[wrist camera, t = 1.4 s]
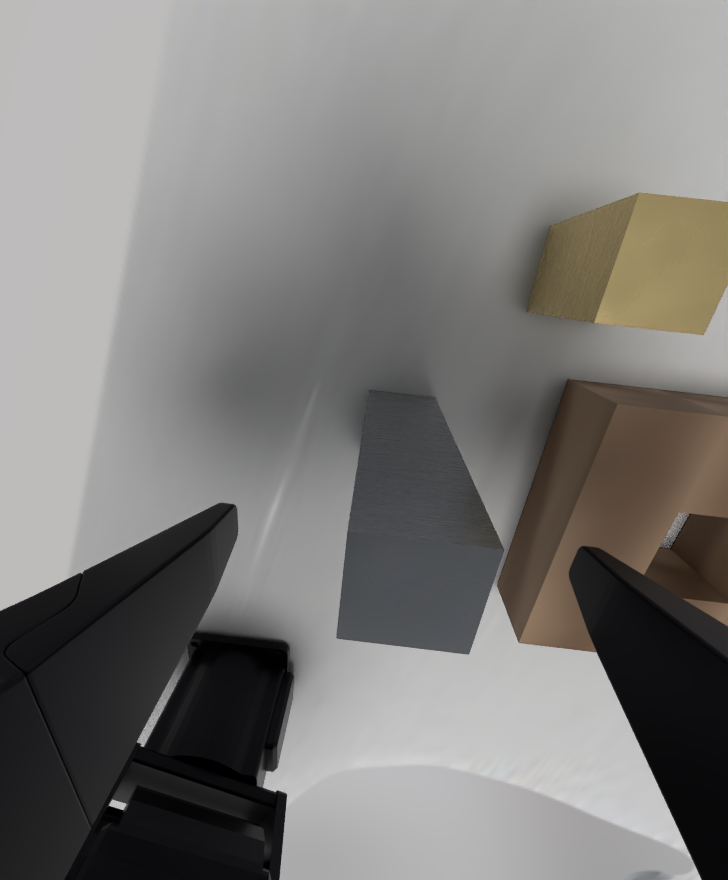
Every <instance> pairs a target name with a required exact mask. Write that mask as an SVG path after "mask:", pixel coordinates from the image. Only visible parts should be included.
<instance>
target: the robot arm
mask: <svg viewBox="0 0 728 880" xmlns="http://www.w3.org/2000/svg"><path fill="white" fill-rule="evenodd" d="M237 535H238V516H237V507H236V505H234V504H228V503H218V504H216V505H214V506H212V507H210V508H208V509H206V510H204V511H202V512H200V513H198V514H196V515H194V516H192V517H190V518H188V519H186V520H184V521H182V522H180V523H178V524H176V525H174V526H172V527H170V528H169V529H167V530H165V531H163V532H161V533H159V534H157V535H155V536H153V537H151V538H149V539H147V540H145V541H143V542H141V543H139V544H137V545H135V546H133V547H131V548H129V549H127V550H125V551H123V552H121V553H119V554H117V555H115V556H113V557H111V558H109V559H107V560H105V561H103V562H101V563H99V564H97V565H95V566H93V567H91V568H89V569H87V570H85V571H84V572H83V574H82V573H79V574H77V575H75V576H73V577H71V578H69V579H67V580H65V581H63V582H61V583H59V584H57V585H55V586H53V587H51V588H49V589H46V590H44V591H42V592H40V593H38V594H36V595H34V596H32V597H30V598H28V599H26V600H24V601H21V602H19V603H17V604H15V605H12V606H10V607H8V608H6V609H3V610H2V611H0V880H279V877H280V866H281V855H282V844H283V833H284V822H285V811H286V800H287V793H284V792H281V791H276V792H273V791H271V790H268V789H265V788H263V783H264V779H265V775H266V771H271V772H273V771H274V770H275V769H276V768H277V767H278V763H279V758H280V754H281V749H282V745H283V740H284V736H285V731H286V727H287V722H288V718H289V713H290V709H291V705H292V700H293V684H294V675H293V674H292V672H289V647H288V646H287V645H285V644H282V643H273V642H265V641H257V640H249V639H240V638H232V637H224V636H216V635H207V634H199V633H194V632H195V630H196V628H197V627H198V625H199V623H200V621H201V619H202V617H203V615H204V613H205V611H206V610H207V608H208V606H209V604H210V602H211V600H212V598H213V596H214V594H215V592H216V590H217V587H218V585H219V582H220V580H221V577H222V575H223V572H224V570H225V567H226V565H227V562H228V560H229V557H230V554H231V552H232V549H233V547H234V544H235V542H236V539H237ZM569 580H570V583H571V586H572V588H573V591H574V594H575V597H576V600H577V603H578V606H579V608H580V611H581V614H582V617H583V620H584V623H585V626H586V628H587V631H588V633H589V636H590V638H591V641H592V643H593V645H594V648H595V650H596V652H597V654H598V656H599V658H600V661H601V663H602V665H603V667H604V669H605V671H606V674H607V676H608V678H609V680H610V682H611V684H612V687H613V689H614V691H615V693H616V695H617V697H618V700H619V702H620V704H621V706H622V708H623V710H624V713H625V715H626V717H627V719H628V721H629V723H630V726H631V728H632V730H633V732H634V734H635V736H636V739H637V741H638V743H639V745H640V747H641V749H642V752H643V754H644V756H645V758H646V760H647V762H648V765H649V767H650V769H651V771H652V773H653V775H654V778H655V780H656V782H657V784H658V786H659V788H660V791H661V793H662V795H663V797H664V799H665V801H666V804H667V806H668V808H669V810H670V812H671V814H672V817H673V819H674V821H675V823H676V825H677V827H678V830H679V832H680V834H681V836H682V838H683V840H684V843H685V845H686V847H687V849H688V851H689V853H690V855H691V858H692V860H693V862H694V864H695V866H696V868H697V871H698V873H699V875H700V877H701V879H702V880H728V626H727V625H725V624H723V623H722V622H720V621H718V620H717V619H715V618H713V617H712V616H710V615H709V614H707V613H705V612H704V611H702V610H700V609H699V608H697V607H695V606H694V605H692V604H690V603H689V602H687V601H686V600H684V599H682V598H681V597H679V596H677V595H676V594H674V593H672V592H671V591H669V590H668V589H666V588H664V587H663V586H661V585H659V584H658V583H656V582H654V581H653V580H651V579H650V578H648V577H646V576H645V575H643V574H641V573H640V572H638V571H636V570H635V569H633V568H631V567H630V566H628V565H627V564H625V563H623V562H622V561H620V560H618V559H617V558H615V557H613V556H612V555H610V554H609V553H607V552H605V551H604V550H602V549H600V548H598V547H591V546H581V547H580V548H579V549H578V550H577V553H576V555H575V557H574V559H573V562H572V564H571V566H570V569H569ZM187 646H188V653H189V662H188V664H187V666H186V667H185V669H184V671H183V673H182V675H181V677H180V679H179V681H178V683H177V685H176V687H175V688H174V690H173V692H172V694H171V696H170V698H169V700H168V702H167V704H166V706H165V708H164V710H163V711H162V713H161V715H160V717H159V719H158V721H157V723H156V725H155V727H154V729H153V731H152V732H151V734H150V736H149V738H148V740H147V742H146V744H145V746H144V747H141V746H140V745H141V744H140V743H137V740H138V738H139V736H140V735H141V733H142V731H143V729H144V727H145V725H146V723H147V721H148V719H149V718H150V716H151V714H152V712H153V710H154V708H155V706H156V704H157V702H158V700H159V699H160V697H161V695H162V693H163V691H164V689H165V687H166V685H167V683H168V682H169V680H170V678H171V676H172V674H173V672H174V670H175V668H176V666H177V664H178V663H179V661H180V659H181V657H182V655H183V653H184V651H185V649H186V647H187ZM112 799H113V800H116V801H120V802H123V803H126V804H127V805H126V806H125V808H124V810H120V809H117V808H114V807H111V806H109V804H110V803H111V801H112Z"/></svg>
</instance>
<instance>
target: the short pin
mask: <svg viewBox="0 0 728 880" xmlns="http://www.w3.org/2000/svg"><path fill="white" fill-rule="evenodd" d="M727 285H728V202H721V201H712V200H703V199H694V198H684V197H675V196H666V195H657V194H648V193H637V194H635V195H632V196H629V197H627V198H624V199H621V200H619V201H616V202H613V203H611V204H608V205H605V206H603V207H600V208H597V209H595V210H592V211H589V212H586V213H584V214H581V215H578V216H576V217H573V218H570V219H568V220H565V221H562V222H560V223H557V224H554V225H552V226H550V229H549V232H548V236H547V240H546V243H545V247H544V251H543V254H542V258H541V262H540V265H539V269H538V273H537V276H536V280H535V284H534V287H533V291H532V295H531V298H530V302H529V306H528V309H527V312H532V313H538V314H544V315H550V316H556V317H562V318H568V319H574V320H580V321H586V322H592V323H600V324H609V325H618V326H627V327H636V328H645V329H654V330H663V331H671V332H680V333H689V334H698V335H704V333H705V331H706V329H707V327H708V325H709V323H710V321H711V319H712V316H713V314H714V312H715V310H716V308H717V306H718V304H719V302H720V300H721V297H722V295H723V293H724V291H725V289H726V287H727Z"/></svg>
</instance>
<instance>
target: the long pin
mask: <svg viewBox="0 0 728 880" xmlns="http://www.w3.org/2000/svg"><path fill="white" fill-rule="evenodd" d="M503 552H504V548H503V546H502V544H501V542H500V540H499V537H498V535H497V533H496V531H495V529H494V526H493V524H492V522H491V520H490V518H489V515H488V513H487V511H486V509H485V507H484V504H483V502H482V500H481V498H480V496H479V493H478V491H477V489H476V487H475V485H474V482H473V480H472V478H471V476H470V474H469V471H468V469H467V467H466V465H465V463H464V460H463V458H462V456H461V454H460V452H459V449H458V447H457V445H456V443H455V441H454V438H453V436H452V434H451V432H450V430H449V427H448V425H447V423H446V421H445V419H444V416H443V414H442V412H441V410H440V408H439V405H438V403H437V401H436V399H435V398H432V397H424V396H415V395H406V394H398V393H389V392H380V391H372V390H369V393H368V400H367V406H366V413H365V419H364V426H363V433H362V439H361V446H360V452H359V459H358V466H357V472H356V479H355V486H354V492H353V499H352V505H351V512H350V519H349V525H348V532H347V542H346V551H345V561H344V570H343V580H342V589H341V599H340V608H339V618H338V628H337V637H336V638H337V639H345V640H353V641H362V642H370V643H378V644H386V645H395V646H403V647H411V648H419V649H428V650H436V651H444V652H452V653H461V654H469V653H470V650H471V647H472V644H473V641H474V638H475V635H476V632H477V629H478V626H479V623H480V620H481V617H482V614H483V611H484V608H485V605H486V602H487V599H488V596H489V593H490V590H491V587H492V584H493V581H494V579H495V576H496V573H497V570H498V567H499V564H500V561H501V558H502V555H503Z"/></svg>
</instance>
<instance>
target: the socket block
mask: <svg viewBox="0 0 728 880" xmlns="http://www.w3.org/2000/svg"><path fill="white" fill-rule="evenodd" d="M679 512H681V513H690V514H691V515H690V516H689V518H688V520H687V521H686V523H685V525H684V527H683V528H682V530H681V532H680V534H679V535H678V537H677V539H676V541H675V542H674V544H673V546H672V547H671V549H668V548H659V547H660V545H661V543H662V541H663V540H664V538H665V536H666V534H667V533H668V531H669V529H670V527H671V525H672V524H673V522H674V520H675V518H676V517H677V515H678V513H679ZM581 546H591V547H598V548H600V549H602V550H604V551H605V552H607V553H609V554H610V555H612V556H613V557H615V558H617V559H618V560H620V561H622V562H623V563H625V564H627V565H628V566H630V567H631V568H633V569H635V570H636V571H638V572H640V573H641V574H643V575H645V576H646V577H648V578H650V579H651V580H653V581H654V582H656V583H658V584H659V585H661V586H663V587H664V588H666V589H668V590H669V591H671V592H672V593H674V594H676V595H677V596H679V597H681V598H682V599H684V600H686V601H687V602H689V603H690V604H692V605H694V606H695V607H697V608H699V609H700V610H702V611H704V612H705V613H707V614H709V615H710V616H712V617H713V618H715V619H717V620H718V621H720V622H722V623H723V624H725V625H727V626H728V398H726V397H718V396H709V395H700V394H691V393H683V392H674V391H665V390H657V389H648V388H639V387H631V386H622V385H613V384H604V383H596V382H587V381H578V380H570V379H568V382H567V384H566V387H565V390H564V393H563V396H562V399H561V402H560V405H559V408H558V411H557V414H556V416H555V419H554V422H553V425H552V428H551V431H550V434H549V437H548V440H547V443H546V446H545V448H544V451H543V454H542V457H541V460H540V463H539V466H538V469H537V472H536V475H535V477H534V480H533V483H532V486H531V489H530V492H529V495H528V498H527V501H526V504H525V507H524V509H523V512H522V515H521V518H520V521H519V524H518V527H517V530H516V533H515V536H514V539H513V541H512V544H511V547H510V550H509V553H508V556H507V559H506V562H505V565H504V568H503V571H502V573H501V576H500V579H499V582H498V585H497V587H498V589H499V592H500V595H501V597H502V600H503V602H504V605H505V608H506V610H507V613H508V616H509V618H510V621H511V624H512V626H513V629H514V632H515V634H516V637H517V640H518V642H519V643H524V644H532V645H541V646H549V647H557V648H565V649H574V650H582V651H590V652H596V650H595V648H594V645H593V643H592V641H591V638H590V636H589V633H588V631H587V628H586V626H585V623H584V620H583V617H582V614H581V611H580V608H579V606H578V603H577V600H576V597H575V594H574V591H573V588H572V586H571V583H570V580H569V569H570V566H571V564H572V562H573V559H574V557H575V555H576V553H577V550H578V549H579V548H580V547H581Z"/></svg>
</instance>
